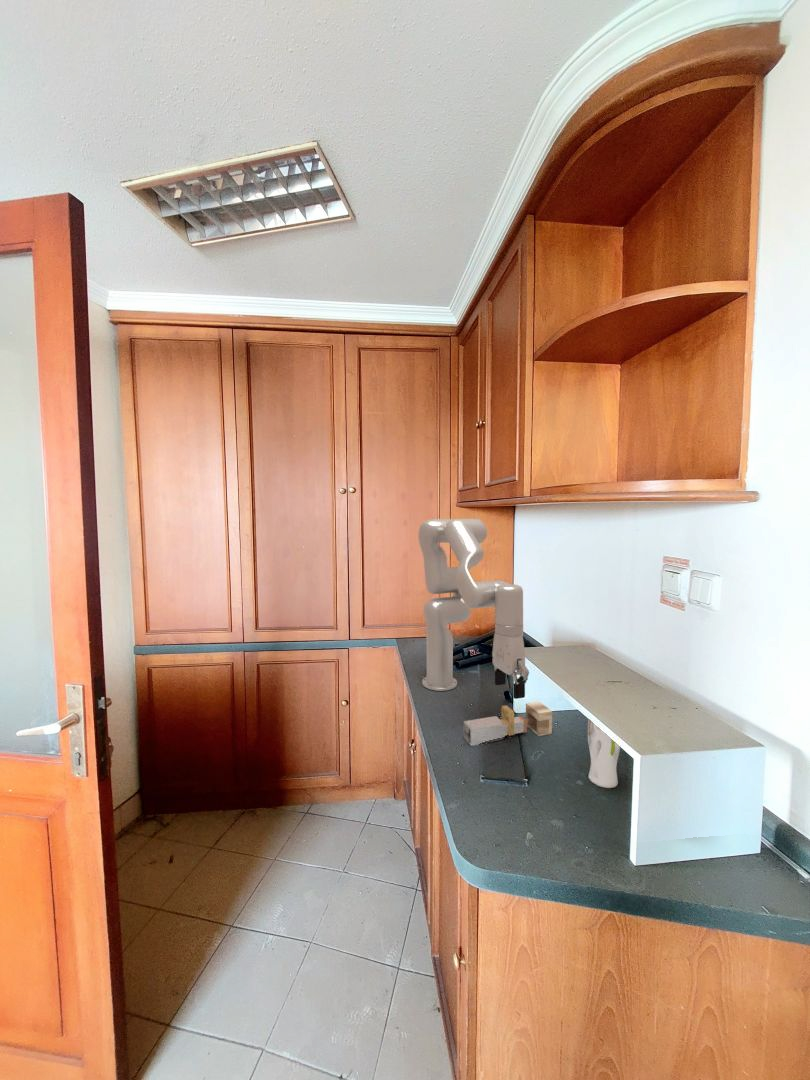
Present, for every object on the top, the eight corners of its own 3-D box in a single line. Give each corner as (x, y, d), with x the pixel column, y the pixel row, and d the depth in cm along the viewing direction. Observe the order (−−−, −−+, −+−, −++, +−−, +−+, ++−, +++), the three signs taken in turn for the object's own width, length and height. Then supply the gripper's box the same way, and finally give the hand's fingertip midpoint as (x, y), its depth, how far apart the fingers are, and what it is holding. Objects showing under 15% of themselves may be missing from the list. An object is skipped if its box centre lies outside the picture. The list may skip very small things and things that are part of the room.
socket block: (525, 724, 121) (525, 703, 120) (538, 722, 122) (538, 701, 121) (538, 736, 114) (539, 713, 114) (551, 733, 116) (552, 711, 115)
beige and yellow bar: (469, 735, 114) (469, 711, 114) (519, 726, 119) (520, 703, 118) (475, 743, 110) (475, 717, 110) (527, 733, 115) (528, 709, 114)
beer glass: (624, 791, 91) (626, 725, 90) (590, 787, 93) (592, 722, 92) (614, 772, 98) (616, 711, 97) (583, 769, 100) (584, 708, 99)
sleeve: (463, 737, 114) (463, 721, 114) (496, 731, 117) (496, 716, 117) (471, 746, 110) (471, 729, 109) (504, 740, 112) (504, 723, 112)
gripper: (482, 623, 121) (482, 681, 121) (514, 638, 104) (514, 705, 105) (504, 621, 123) (505, 678, 123) (539, 636, 106) (539, 701, 107)
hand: (509, 690), depth 114 cm, fingers open, 9 cm apart
